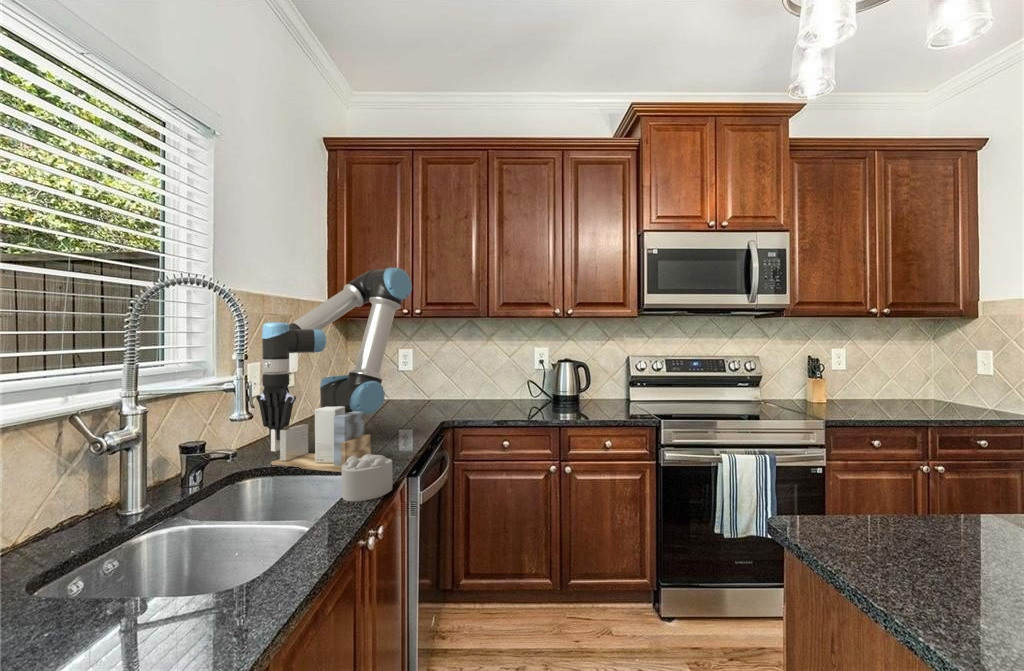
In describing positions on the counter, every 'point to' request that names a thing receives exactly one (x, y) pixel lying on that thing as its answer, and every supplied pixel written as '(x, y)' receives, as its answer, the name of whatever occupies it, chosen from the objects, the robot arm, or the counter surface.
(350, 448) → the book rack
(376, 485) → the lumpy-topped squat cylinder
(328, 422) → the skincare box
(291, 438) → the grey rectangular slab
